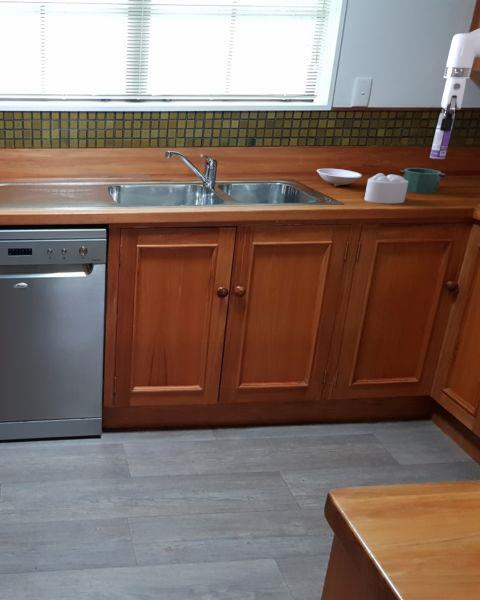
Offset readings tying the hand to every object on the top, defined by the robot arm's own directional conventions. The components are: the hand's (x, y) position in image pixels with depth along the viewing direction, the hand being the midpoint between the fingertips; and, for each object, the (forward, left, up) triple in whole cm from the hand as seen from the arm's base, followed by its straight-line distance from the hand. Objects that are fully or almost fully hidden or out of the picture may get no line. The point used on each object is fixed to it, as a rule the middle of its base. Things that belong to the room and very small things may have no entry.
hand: (444, 129), depth 210 cm
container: (0, 0, -10) cm, 10 cm away
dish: (+31, -8, -24) cm, 40 cm away
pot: (+2, -13, -24) cm, 27 cm away
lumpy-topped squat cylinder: (+16, +11, -24) cm, 31 cm away
